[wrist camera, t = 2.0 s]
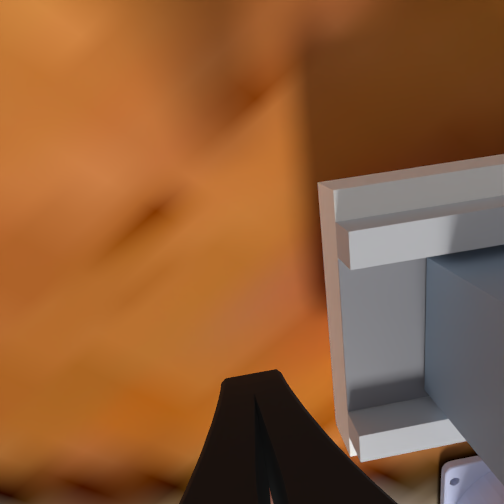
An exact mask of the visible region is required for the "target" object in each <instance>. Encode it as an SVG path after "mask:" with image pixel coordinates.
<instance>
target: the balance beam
mask: <svg viewBox="0 0 504 504" xmlns="http://www.w3.org/2000/svg"><path fill="white" fill-rule="evenodd" d="M317 183H318V196H319V209H320V222H321V235H322V248H323V261H324V274H325V287H326V300H327V313H328V326H329V339H330V352H331V365H332V378H333V391H334V404H335V417H336V425H337V427H338V429H339V432H340V434H341V436H342V439H343V441H344V443H345V446H346V448H347V450H348V452H349V455H350V457H351V456H356V455H358V458H359V460H360V462H364V461H369V460H374V459H379V458H384V457H389V456H394V455H399V454H404V453H409V452H414V451H419V450H424V449H429V448H434V447H439V446H444V445H449V444H454V443H459V442H464V441H466V440H465V438H464V437H463V436H462V435H461V434H460V432H459V431H458V430H457V429H456V427H455V426H454V425H453V424H452V423H451V421H450V420H449V419H448V418H447V417H446V415H445V414H444V413H443V412H442V411H441V409H440V408H439V407H438V406H437V404H436V403H435V402H434V401H433V400H432V398H431V397H430V396H429V395H428V394H427V392H426V391H425V390H424V385H425V329H426V273H427V257H432V256H438V255H444V254H450V253H456V252H462V251H468V250H474V249H480V248H486V247H492V246H497V245H503V244H504V154H500V155H494V156H487V157H480V158H474V159H467V160H461V161H454V162H448V163H441V164H435V165H428V166H421V167H415V168H408V169H402V170H395V171H389V172H382V173H376V174H369V175H363V176H356V177H349V178H343V179H336V180H330V181H323V182H317Z"/></svg>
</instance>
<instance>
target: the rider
mask: <svg viewBox="0 0 504 504" xmlns="http://www.w3.org/2000/svg"><path fill="white" fill-rule="evenodd" d="M424 390H425V391H426V392H427V394H428V395H429V396H430V397H431V398H432V400H433V401H434V402H435V403H436V404H437V406H438V407H439V408H440V409H441V411H442V412H443V413H444V414H445V415H446V417H447V418H448V419H449V420H450V421H451V423H452V424H453V425H454V426H455V427H456V429H457V430H458V431H459V432H460V434H461V435H462V436H463V437H464V438H465V440H466V441H467V442H468V443H469V444H470V446H471V447H472V448H473V449H474V451H475V452H476V453H477V454H478V455H479V457H480V458H481V459H482V460H483V461H484V463H485V464H486V465H487V466H488V467H489V469H490V470H491V471H492V472H493V474H494V475H495V476H496V477H497V478H498V480H499V481H500V482H501V483H502V484H503V486H504V244H503V245H497V246H492V247H486V248H480V249H474V250H468V251H462V252H456V253H450V254H444V255H438V256H432V257H427V273H426V329H425V385H424Z"/></svg>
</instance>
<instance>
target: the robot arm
mask: <svg viewBox="0 0 504 504" xmlns="http://www.w3.org/2000/svg"><path fill="white" fill-rule="evenodd" d="M269 487H270V491H271V495H272V499H273V503H274V504H397V503H396V502H395V501H394V500H393V499H392V498H391V497H390V496H388V495H387V494H386V493H385V492H384V491H383V490H382V489H381V488H380V487H378V486H377V485H376V484H375V483H374V482H373V481H372V480H371V479H370V478H369V477H368V476H367V475H366V474H365V473H364V472H363V471H362V470H361V469H360V468H359V467H358V466H357V465H356V464H354V462H353V461H352V460H351V459H350V458H349V457H348V456H347V455H346V454H345V453H344V452H343V451H342V450H341V449H340V448H339V447H338V446H337V445H336V444H335V443H334V441H333V440H332V439H331V438H330V437H329V436H328V435H327V434H326V433H325V431H324V430H323V429H322V428H321V427H320V426H319V424H318V423H317V422H316V421H315V420H314V418H313V417H312V416H311V415H310V414H309V412H308V411H307V410H306V409H305V407H304V406H303V405H302V403H301V402H300V401H299V399H298V398H297V397H296V395H295V394H294V393H293V391H292V390H291V388H290V387H289V385H288V384H287V382H286V381H285V379H284V377H283V375H282V373H281V372H279V371H278V370H276V369H275V370H270V371H264V372H259V373H253V374H248V375H242V376H237V377H231V378H226V379H225V380H224V381H223V382H222V383H221V390H220V395H219V400H218V404H217V407H216V411H215V414H214V417H213V421H212V424H211V427H210V429H209V432H208V435H207V438H206V441H205V444H204V446H203V449H202V452H201V454H200V457H199V459H198V462H197V464H196V466H195V469H194V471H193V473H192V476H191V478H190V480H189V483H188V485H187V488H186V490H185V492H184V494H183V497H182V499H181V501H180V503H179V504H271V503H270V491H269ZM440 504H504V486H503V484H502V483H501V482H500V481H499V480H498V478H497V477H496V476H495V475H494V474H493V472H492V471H491V470H490V469H489V467H488V466H487V465H486V464H485V463H484V461H483V460H482V459H481V458H480V457H479V455H477V456H472V457H467V458H462V459H457V460H452V461H449V462H447V463H445V464H444V465H443V467H442V470H441V496H440Z"/></svg>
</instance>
